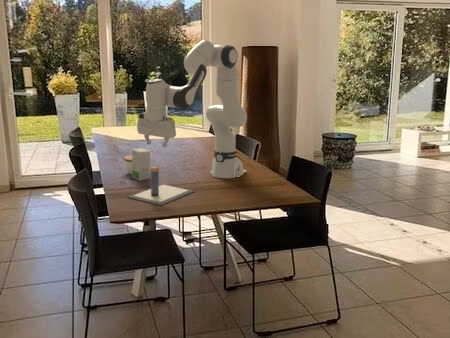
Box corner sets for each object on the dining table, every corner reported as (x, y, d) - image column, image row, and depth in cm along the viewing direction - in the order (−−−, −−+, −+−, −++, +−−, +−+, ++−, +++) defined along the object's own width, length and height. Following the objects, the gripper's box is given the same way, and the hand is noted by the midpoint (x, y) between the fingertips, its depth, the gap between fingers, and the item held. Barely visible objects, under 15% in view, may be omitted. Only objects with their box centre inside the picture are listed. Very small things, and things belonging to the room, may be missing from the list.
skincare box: (131, 177, 253) (131, 149, 249) (142, 175, 257) (142, 147, 253) (139, 180, 246) (139, 152, 242) (150, 178, 251) (150, 150, 247)
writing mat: (162, 184, 241) (162, 183, 240) (194, 191, 231) (194, 190, 230) (127, 197, 219) (127, 195, 219) (160, 205, 209) (160, 203, 209)
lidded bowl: (142, 176, 254) (142, 157, 251) (120, 175, 256) (120, 155, 253) (150, 171, 266) (150, 152, 263) (130, 169, 268) (129, 150, 265)
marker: (154, 193, 223) (154, 166, 220) (160, 195, 221) (160, 167, 218) (149, 195, 220) (148, 167, 216) (155, 197, 218) (155, 169, 214)
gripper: (178, 117, 209) (178, 147, 213) (143, 112, 219) (144, 141, 223) (170, 118, 204) (170, 149, 207) (134, 114, 214) (135, 143, 218)
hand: (156, 145), depth 215 cm, fingers open, 8 cm apart
